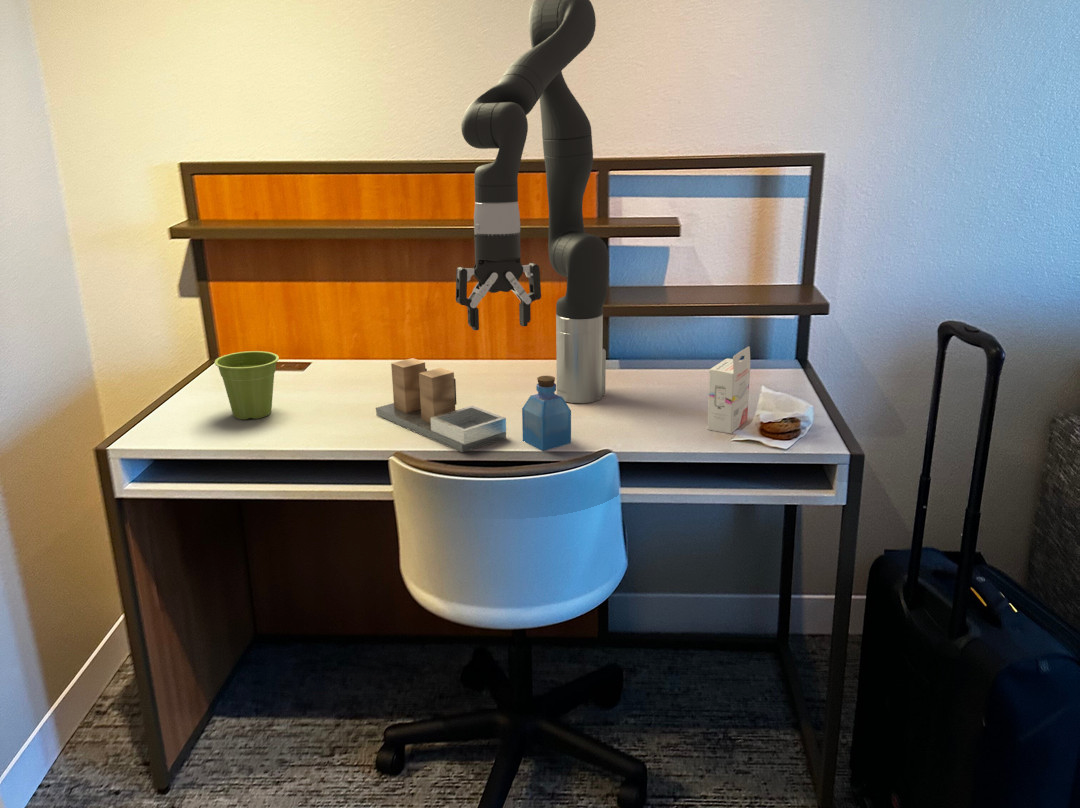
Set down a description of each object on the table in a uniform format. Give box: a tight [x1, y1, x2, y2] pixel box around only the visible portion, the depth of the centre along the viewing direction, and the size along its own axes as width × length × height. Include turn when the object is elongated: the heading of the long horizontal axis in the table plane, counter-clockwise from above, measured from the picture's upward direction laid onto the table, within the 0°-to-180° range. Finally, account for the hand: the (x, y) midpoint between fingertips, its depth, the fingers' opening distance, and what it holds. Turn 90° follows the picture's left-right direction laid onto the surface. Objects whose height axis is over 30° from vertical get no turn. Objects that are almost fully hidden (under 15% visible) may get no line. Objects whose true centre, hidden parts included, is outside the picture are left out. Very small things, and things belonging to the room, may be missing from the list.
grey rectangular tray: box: [375, 402, 507, 454], centre depth 177 cm, size 10×27×4 cm, turn 42°
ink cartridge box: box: [706, 345, 751, 434], centre depth 174 cm, size 9×5×15 cm, turn 148°
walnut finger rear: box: [390, 357, 428, 413], centre depth 182 cm, size 6×4×9 cm
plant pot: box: [214, 350, 280, 420], centre depth 184 cm, size 12×12×11 cm
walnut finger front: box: [419, 367, 458, 423], centre depth 176 cm, size 6×4×9 cm
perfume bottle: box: [521, 375, 572, 452], centre depth 168 cm, size 6×6×12 cm
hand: (499, 327), depth 160 cm, fingers open, 8 cm apart
